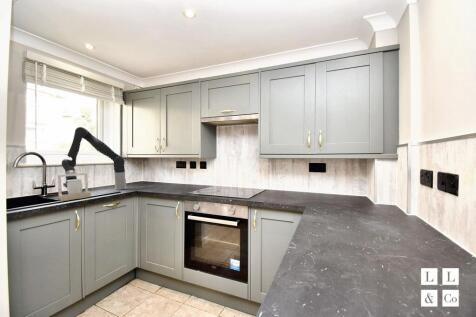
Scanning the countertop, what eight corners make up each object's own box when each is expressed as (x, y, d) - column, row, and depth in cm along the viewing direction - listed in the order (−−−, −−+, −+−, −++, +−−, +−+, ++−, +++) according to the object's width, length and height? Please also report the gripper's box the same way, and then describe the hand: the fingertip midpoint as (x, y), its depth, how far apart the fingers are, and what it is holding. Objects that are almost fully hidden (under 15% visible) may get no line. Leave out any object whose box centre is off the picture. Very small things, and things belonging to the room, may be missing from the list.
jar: (64, 198, 176) (63, 180, 175) (76, 195, 186) (75, 178, 185) (74, 198, 173) (73, 180, 173) (86, 196, 183) (85, 178, 183)
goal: (58, 198, 176) (57, 174, 176) (88, 194, 190) (86, 172, 190) (60, 200, 166) (58, 175, 166) (91, 196, 180) (90, 173, 180)
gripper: (61, 174, 185) (63, 189, 176) (80, 173, 194) (83, 187, 185) (61, 180, 189) (63, 195, 180) (79, 178, 198) (82, 193, 189)
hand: (73, 191), depth 183 cm, fingers closed
